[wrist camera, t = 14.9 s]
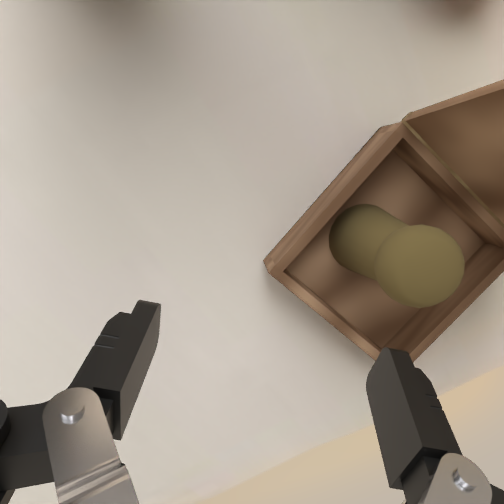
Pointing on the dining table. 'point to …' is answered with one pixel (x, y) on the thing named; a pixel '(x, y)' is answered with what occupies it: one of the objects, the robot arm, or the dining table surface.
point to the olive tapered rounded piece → (398, 255)
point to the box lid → (468, 141)
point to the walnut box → (408, 211)
